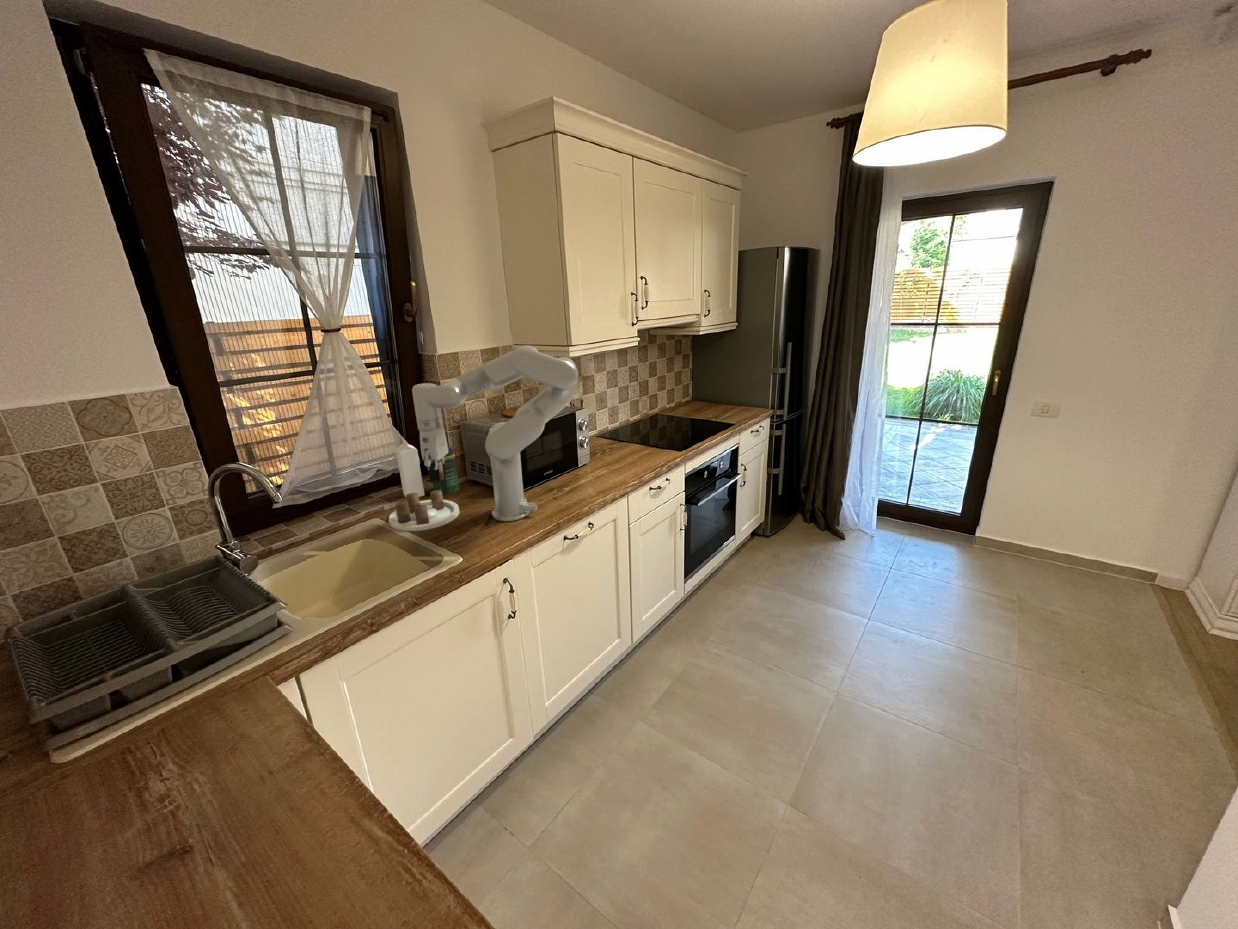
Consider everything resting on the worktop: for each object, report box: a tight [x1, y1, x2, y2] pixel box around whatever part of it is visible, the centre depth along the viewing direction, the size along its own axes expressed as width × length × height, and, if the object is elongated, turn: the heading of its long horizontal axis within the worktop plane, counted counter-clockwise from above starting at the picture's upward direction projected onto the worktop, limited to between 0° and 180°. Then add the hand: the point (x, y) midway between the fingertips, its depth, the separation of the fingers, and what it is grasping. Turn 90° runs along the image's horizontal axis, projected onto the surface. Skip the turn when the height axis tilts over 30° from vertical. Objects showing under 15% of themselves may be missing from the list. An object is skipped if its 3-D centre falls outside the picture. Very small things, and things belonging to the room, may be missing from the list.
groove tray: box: [388, 499, 460, 532], centre depth 162 cm, size 22×22×2 cm
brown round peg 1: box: [394, 501, 411, 523], centre depth 158 cm, size 4×4×6 cm
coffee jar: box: [430, 445, 460, 495], centre depth 182 cm, size 10×8×19 cm
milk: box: [395, 438, 425, 498], centre depth 176 cm, size 6×6×22 cm
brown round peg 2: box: [414, 505, 429, 525], centre depth 155 cm, size 4×4×6 cm
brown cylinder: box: [429, 490, 444, 510], centre depth 167 cm, size 4×4×6 cm
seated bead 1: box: [405, 493, 420, 513], centre depth 165 cm, size 4×4×6 cm
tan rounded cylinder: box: [431, 460, 444, 481], centre depth 156 cm, size 4×4×6 cm
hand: (438, 477), depth 157 cm, fingers closed on tan rounded cylinder, 3 cm apart
